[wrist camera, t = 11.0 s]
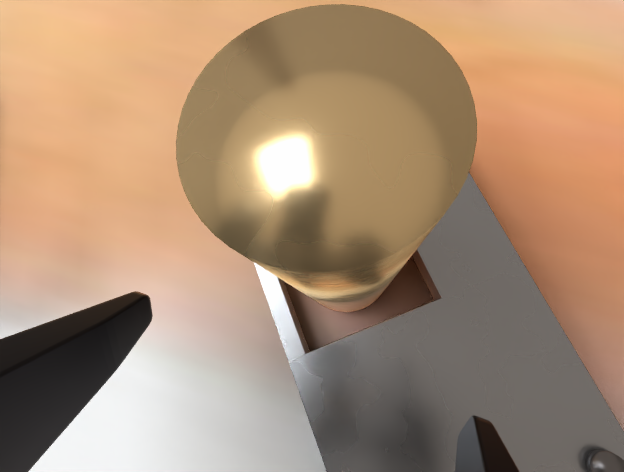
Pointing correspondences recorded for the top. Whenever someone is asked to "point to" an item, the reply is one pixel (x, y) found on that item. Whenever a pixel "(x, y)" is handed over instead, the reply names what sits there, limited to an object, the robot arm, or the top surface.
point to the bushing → (327, 147)
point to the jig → (453, 366)
